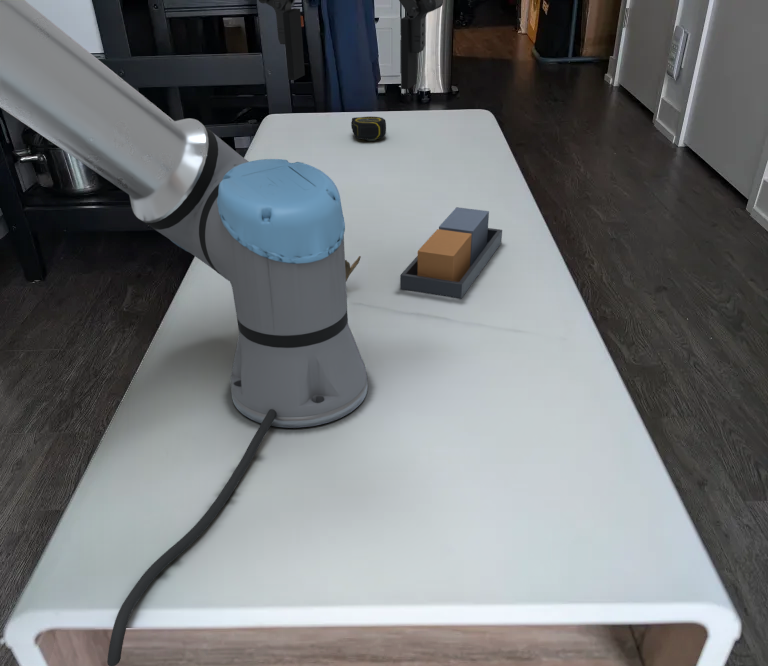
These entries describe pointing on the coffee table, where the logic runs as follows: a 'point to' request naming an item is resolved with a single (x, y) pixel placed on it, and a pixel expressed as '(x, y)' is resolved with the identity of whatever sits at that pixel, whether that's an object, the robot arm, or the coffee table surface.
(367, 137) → the tape measure
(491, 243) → the carrier tray
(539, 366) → the coffee table surface
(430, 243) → the brown block
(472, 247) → the grey block
